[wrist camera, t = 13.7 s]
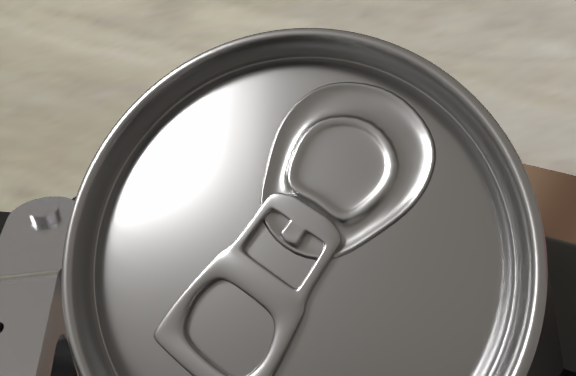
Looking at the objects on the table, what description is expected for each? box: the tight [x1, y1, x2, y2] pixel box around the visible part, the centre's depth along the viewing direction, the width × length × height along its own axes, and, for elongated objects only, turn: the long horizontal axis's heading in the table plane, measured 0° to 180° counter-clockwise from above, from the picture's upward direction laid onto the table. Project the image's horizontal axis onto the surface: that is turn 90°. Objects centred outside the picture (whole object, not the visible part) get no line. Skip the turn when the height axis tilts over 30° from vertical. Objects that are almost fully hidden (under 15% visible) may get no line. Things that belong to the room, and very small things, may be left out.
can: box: [61, 28, 548, 376], centre depth 11 cm, size 6×6×12 cm
